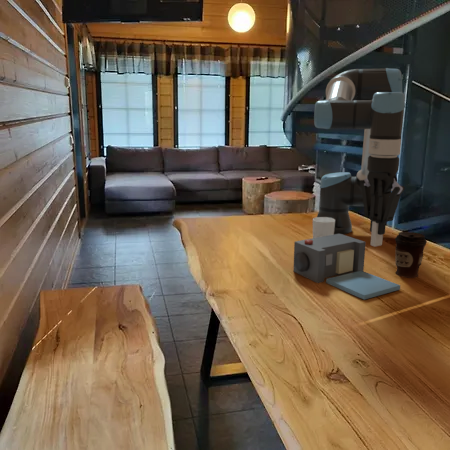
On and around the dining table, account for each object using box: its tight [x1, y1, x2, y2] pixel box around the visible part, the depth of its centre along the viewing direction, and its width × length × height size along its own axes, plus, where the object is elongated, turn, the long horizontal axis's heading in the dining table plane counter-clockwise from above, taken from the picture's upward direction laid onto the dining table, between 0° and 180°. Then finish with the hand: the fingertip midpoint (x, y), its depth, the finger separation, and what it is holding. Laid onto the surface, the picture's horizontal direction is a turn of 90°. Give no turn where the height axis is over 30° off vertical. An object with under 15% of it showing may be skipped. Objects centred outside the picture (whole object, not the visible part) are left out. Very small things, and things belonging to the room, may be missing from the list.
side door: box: [325, 270, 401, 300], centre depth 128 cm, size 14×2×14 cm
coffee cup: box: [394, 231, 428, 279], centre depth 136 cm, size 9×8×13 cm
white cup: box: [312, 216, 335, 238], centre depth 166 cm, size 8×8×10 cm
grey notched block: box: [292, 234, 367, 284], centre depth 138 cm, size 19×11×11 cm, turn 120°
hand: (376, 245), depth 122 cm, fingers closed
